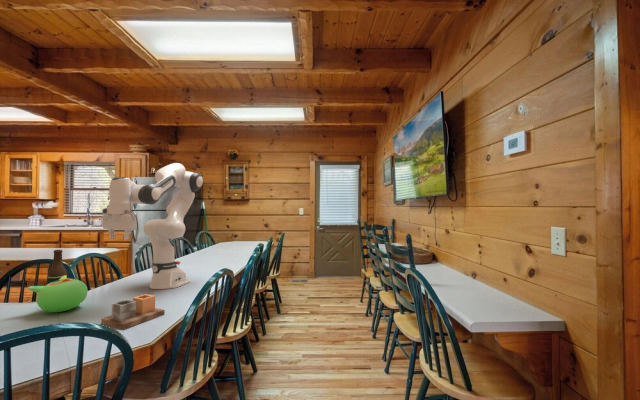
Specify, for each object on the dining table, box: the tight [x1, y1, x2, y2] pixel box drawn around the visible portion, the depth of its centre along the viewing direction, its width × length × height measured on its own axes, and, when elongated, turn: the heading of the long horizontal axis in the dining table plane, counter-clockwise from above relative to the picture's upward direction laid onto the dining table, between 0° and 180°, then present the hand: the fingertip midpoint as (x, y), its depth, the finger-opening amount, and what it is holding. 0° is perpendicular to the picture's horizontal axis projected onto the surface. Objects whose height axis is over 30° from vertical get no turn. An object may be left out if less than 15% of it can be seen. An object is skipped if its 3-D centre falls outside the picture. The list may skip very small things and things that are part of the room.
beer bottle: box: [47, 249, 68, 284], centre depth 158 cm, size 8×8×24 cm
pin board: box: [100, 299, 165, 330], centre depth 130 cm, size 18×14×8 cm
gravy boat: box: [27, 275, 88, 313], centre depth 139 cm, size 18×17×15 cm
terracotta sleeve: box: [132, 293, 156, 314], centre depth 134 cm, size 6×6×6 cm
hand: (119, 239), depth 148 cm, fingers open, 8 cm apart
